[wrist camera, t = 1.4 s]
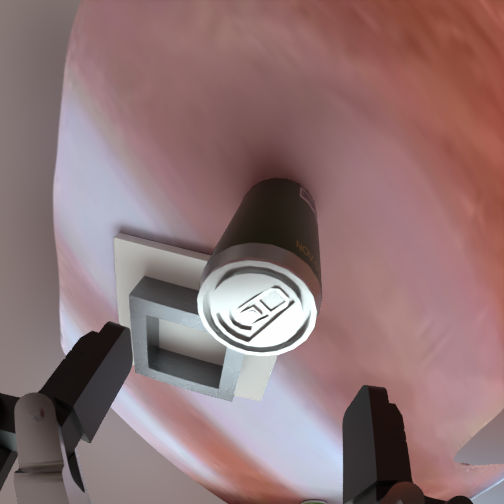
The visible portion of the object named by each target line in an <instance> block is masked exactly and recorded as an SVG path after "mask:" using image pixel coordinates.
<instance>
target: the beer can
mask: <svg viewBox="0 0 504 504" xmlns="http://www.w3.org/2000/svg"><path fill="white" fill-rule="evenodd" d="M321 302H322V283H321V266H320V250H319V237H318V224H317V212H316V208H315V204H314V201H313V199H312V197H311V196H310V194H309V193H308V191H307V190H305V189H304V188H303V187H302V186H301V185H299V184H298V183H296V182H293V181H291V180H288V179H281V178H273V179H268V180H264V181H262V182H260V183H258V184H257V185H255V186H254V187H252V189H251V190H250V191H249V192H248V193H247V195H246V196H245V197H244V199H243V201H242V203H241V204H240V206H239V208H238V210H237V211H236V213H235V215H234V216H233V218H232V220H231V222H230V223H229V225H228V227H227V229H226V230H225V232H224V234H223V236H222V237H221V239H220V241H219V243H218V244H217V246H216V248H215V250H214V251H213V253H212V255H211V257H210V259H209V260H208V262H207V264H206V266H205V267H204V269H203V273H202V276H201V279H200V282H199V294H198V297H197V303H198V314H199V316H200V318H201V320H202V322H203V325H204V327H205V328H206V329H207V330H208V331H209V333H210V334H211V335H212V336H213V337H214V338H215V339H216V340H218V341H219V342H221V343H222V344H224V345H225V346H227V347H228V348H230V349H233V350H235V351H238V352H241V353H244V354H248V355H256V356H270V355H279V354H282V353H284V352H287V351H290V350H292V349H294V348H296V347H297V346H298V345H300V344H301V343H302V342H304V341H305V340H306V339H307V338H308V336H309V335H310V333H311V331H312V330H313V328H314V326H315V321H316V318H317V316H318V315H319V312H320V307H321Z"/></svg>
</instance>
